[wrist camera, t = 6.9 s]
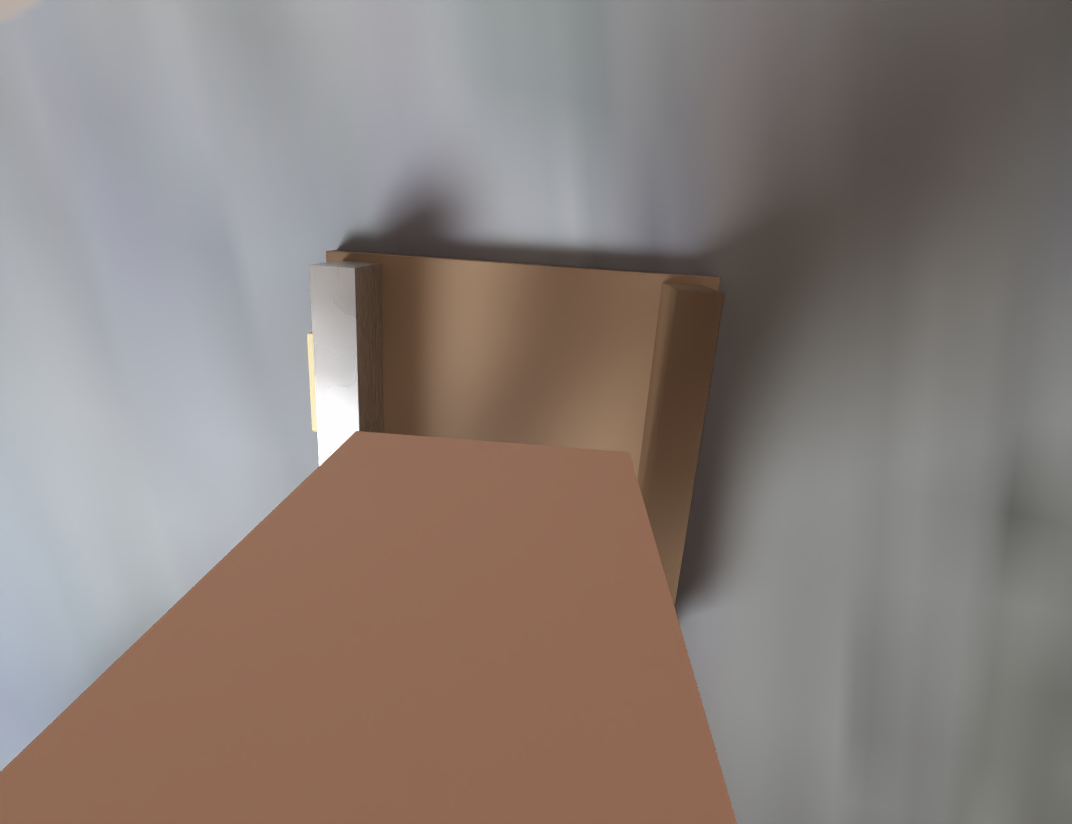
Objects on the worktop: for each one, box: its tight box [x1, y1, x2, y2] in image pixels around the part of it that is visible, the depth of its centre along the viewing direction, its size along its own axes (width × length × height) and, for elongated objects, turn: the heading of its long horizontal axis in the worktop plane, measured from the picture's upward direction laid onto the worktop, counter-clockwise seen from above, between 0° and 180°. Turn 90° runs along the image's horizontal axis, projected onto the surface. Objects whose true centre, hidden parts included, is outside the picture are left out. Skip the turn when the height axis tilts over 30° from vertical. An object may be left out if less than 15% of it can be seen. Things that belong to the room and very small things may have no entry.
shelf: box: [307, 250, 724, 607], centre depth 15 cm, size 10×11×3 cm
